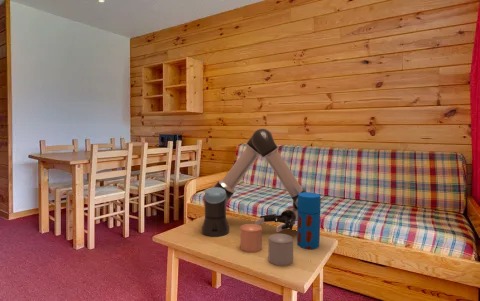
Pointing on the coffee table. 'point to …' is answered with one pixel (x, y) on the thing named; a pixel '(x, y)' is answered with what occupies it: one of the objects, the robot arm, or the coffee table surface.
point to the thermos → (308, 220)
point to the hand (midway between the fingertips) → (265, 226)
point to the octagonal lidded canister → (251, 237)
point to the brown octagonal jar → (280, 249)
